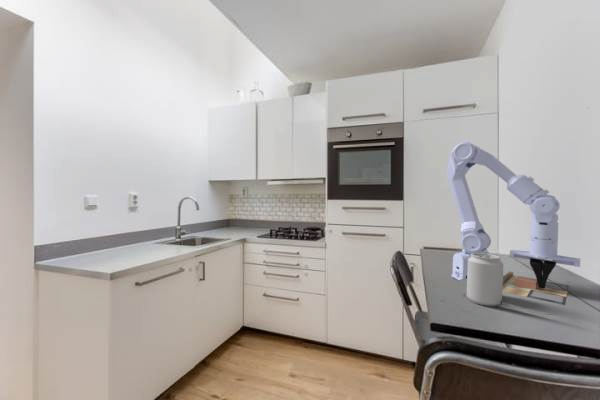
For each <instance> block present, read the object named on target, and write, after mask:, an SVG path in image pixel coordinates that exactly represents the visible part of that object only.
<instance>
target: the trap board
mask: <svg viewBox="0 0 600 400" xmlns="http://www.w3.org/2000/svg"><path fill="white" fill-rule="evenodd" d="M518 276H519V275H514V272H513V271H508V272H507V273H506V274H505V275H503V289H502V293H509V294H513V295H516V296H522V297H525V298H530V299H535V300H540V301H545V302H547V303H548V302H549V303H554V304H558V305H563V306H565V305H566V300H567V295H568V291H569V287H570V285H569V284H568V285H567V284H561V283H557V282H552V281H548V280H547V281H546V284H550V285H556V286H561V287H565V289H564V290H563V289H558V288H551V287H547V286H545V289H543V288H538V287H537V289H536V290H533V289H529V288H524V287H519V286H515V279H516V278H517V277H518ZM534 291H535V292H538V293H543V294H548V295H554V296H559V297H563V298H562V302H561V301H557V300H552V299H548V298H543V297H538V296H534V295H532V293H533V292H534Z"/></svg>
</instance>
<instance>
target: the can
mask: <svg viewBox="0 0 600 400" xmlns="http://www.w3.org/2000/svg"><path fill="white" fill-rule="evenodd" d="M500 259H501V257H500V256H498V255H495V254H491V253H489V254H484V253H472V254H471V257H470V258H469V259H468V271H467V276H466V278H467V279H466V297H467V298H468V299H469V300H470V301H471V302H473V303H474V304H477V305H481V306H484V305H485V306H486V307H497V306H499V305H500V304H502V302H503V301H502V300H503V292H502V289H503V277H504V263H503V262H502V261H501V260H500ZM485 306H484V307H485Z"/></svg>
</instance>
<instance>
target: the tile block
mask: <svg viewBox="0 0 600 400" xmlns="http://www.w3.org/2000/svg"><path fill="white" fill-rule="evenodd" d="M517 276H518V277H517V278H516V279H515V286H519V287H524V288H529V289H533V290H536V289H537V287H538V282H537V278H532V277H525V276H521V275H517Z"/></svg>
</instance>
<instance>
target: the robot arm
mask: <svg viewBox="0 0 600 400" xmlns="http://www.w3.org/2000/svg"><path fill="white" fill-rule="evenodd" d="M475 165H479V166H484V167H486V168H487V169H489V170H490V171H491V172H493V173H494V174H495V175H497V176H498V177H499V178H500V179H501V180H503V181H504V182H505V183H506V189H507V191H509V192H510V193H511V194H512V195H513V196H515V197H516V198H517V199H518V200H520V201H521V202H522V203H523V204H524V205H529V210H530V211H531V214H532V215H531V221H530V235H529V236H530V237H529V251H527V250H514V249H510V250H509V258H516V259H524V260H529V265H530V267H531V269H532V270H533V272H534V275H535V279H537V282H538V288H543V289H545V287H547V286H546V285H547V283H546V281H547V282H548V279H549V277H550V274H551V273H552V271H553V270H554V268H555V267H556V266H557V264H559V265H565V266H572V267H577V268H580V267H581V258H576V257H572V256H571V257H570V256H564V255H559V254H558V248H559V247H558V241H559V222H558V221H559V215H558V211H559V209H560V202H559V200H558V199H557V198H556V197H555V196H554V195H551V194H549V193H550V191H549V190H548V189H543V188H542V187H541V186H540V185H538V184H537V183H536V182H534V181H535V179H534V178H533V177H532V176H527V175H525V174H516V173H515V172H513V171H512V170H511V169H510V168H509V167H508V166H506V165H505V164H503V163H502V162H501V161H500V159H498V158H497V157H496V156H494V155H493V154H491V153H490V152H487V151H486V150H484V149H482V148H480V147H479V146H477V145H474V144H473V143H471V142H469V141H462V142H459V143H458V144H456V145H455V146H454V148H453V149H452V150H451V152H450V153H449V162H448V164H447V169H446V174H445V175H446V177H447V180H448V184H449V187H450V191H451V195H452V197H453V201H454V204H455V207H456V211H457V215H458V218H459V222H460V223H461V225H460V226H461V227H460V234H461V235H460V236H461V238H460V245H461V248H462V251H461V252H456V253H454V255H453V257H452V272H451V273H452V274H451V275H450V276H451V277H452V278H453V279H455V280H457V281H461V280H463V279H466V280H467V271H468V259H469V258H470V257H471V254H472V253H484V254H490V252H489V251H488V248H489V247H490V246H491V243H492V239H491V237H490V235H489V234H488V233H487V232H486V231H485V229H484V226H483V224H482V223H481V222H480V220H479V216H478V212H477V210H476V207H475V203H474V199H473V198H472V197H473V196H472V194H471V190H470V187H469V185H468V182H467V181H468V180H467V178H466V174H467V173H468V172H469V170H470V169H471V168H473V167H474V166H475Z"/></svg>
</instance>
